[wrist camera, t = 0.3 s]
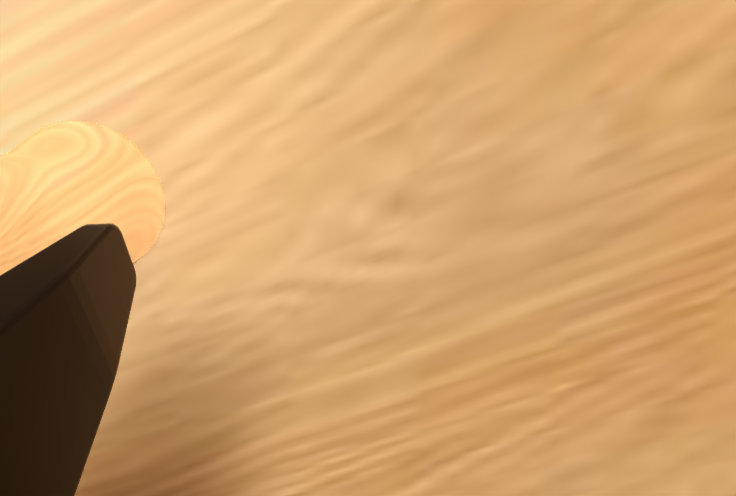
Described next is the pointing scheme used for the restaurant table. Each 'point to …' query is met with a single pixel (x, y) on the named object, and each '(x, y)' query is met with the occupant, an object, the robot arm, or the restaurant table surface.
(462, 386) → the restaurant table surface
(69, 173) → the beer glass
